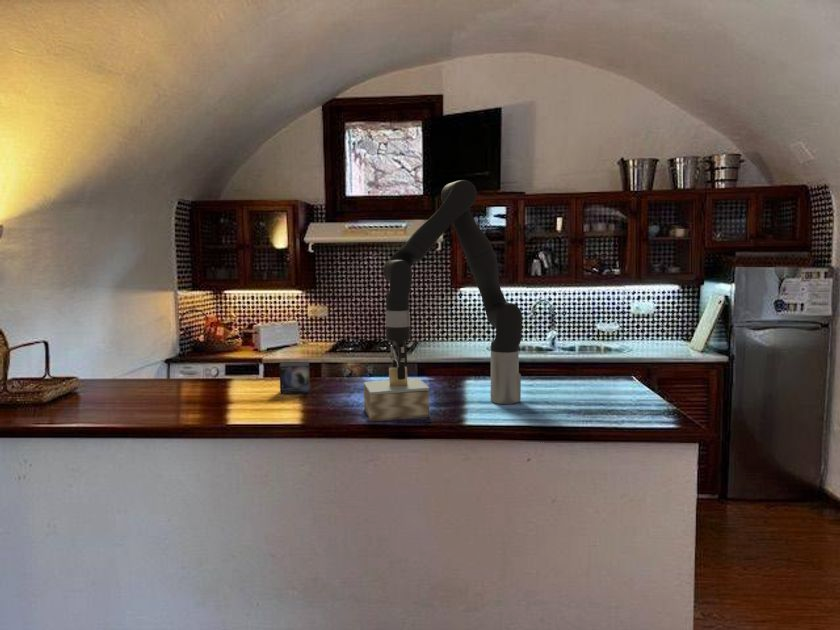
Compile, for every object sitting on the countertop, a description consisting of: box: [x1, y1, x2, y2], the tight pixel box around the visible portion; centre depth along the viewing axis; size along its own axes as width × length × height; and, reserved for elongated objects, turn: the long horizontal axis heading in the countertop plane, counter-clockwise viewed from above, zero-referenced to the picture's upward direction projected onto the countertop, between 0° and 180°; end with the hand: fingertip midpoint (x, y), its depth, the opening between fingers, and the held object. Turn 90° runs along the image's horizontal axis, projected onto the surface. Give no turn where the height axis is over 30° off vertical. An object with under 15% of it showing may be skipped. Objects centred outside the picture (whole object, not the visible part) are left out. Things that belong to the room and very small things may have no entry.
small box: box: [279, 361, 311, 395], centre depth 214 cm, size 11×6×10 cm, turn 101°
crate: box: [363, 385, 430, 422], centre depth 185 cm, size 18×14×8 cm
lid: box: [363, 377, 430, 395], centre depth 185 cm, size 18×14×1 cm
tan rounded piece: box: [388, 366, 408, 386], centre depth 185 cm, size 6×6×5 cm
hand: (398, 376), depth 185 cm, fingers open, 8 cm apart
